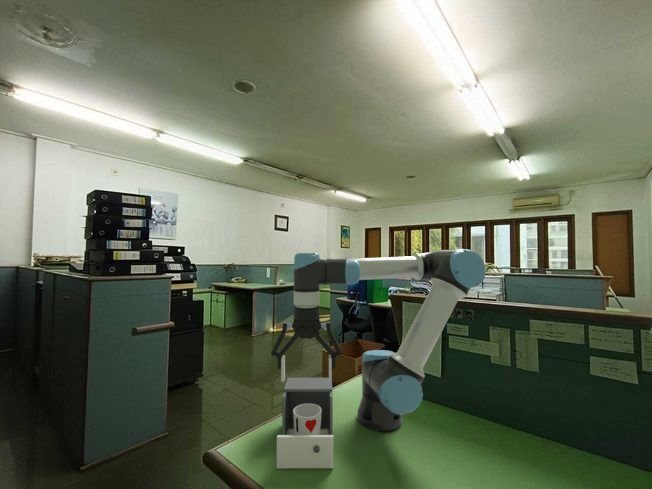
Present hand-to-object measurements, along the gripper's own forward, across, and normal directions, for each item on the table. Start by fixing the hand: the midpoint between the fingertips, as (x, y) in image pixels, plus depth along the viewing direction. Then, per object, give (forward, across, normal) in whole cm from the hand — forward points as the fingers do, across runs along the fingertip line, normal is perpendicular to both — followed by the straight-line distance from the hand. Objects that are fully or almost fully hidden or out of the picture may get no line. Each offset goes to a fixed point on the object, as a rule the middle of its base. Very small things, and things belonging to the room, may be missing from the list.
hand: (306, 379), depth 88 cm
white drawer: (+21, 0, -1) cm, 21 cm away
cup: (+19, 0, 0) cm, 19 cm away
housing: (+21, 0, -9) cm, 22 cm away
